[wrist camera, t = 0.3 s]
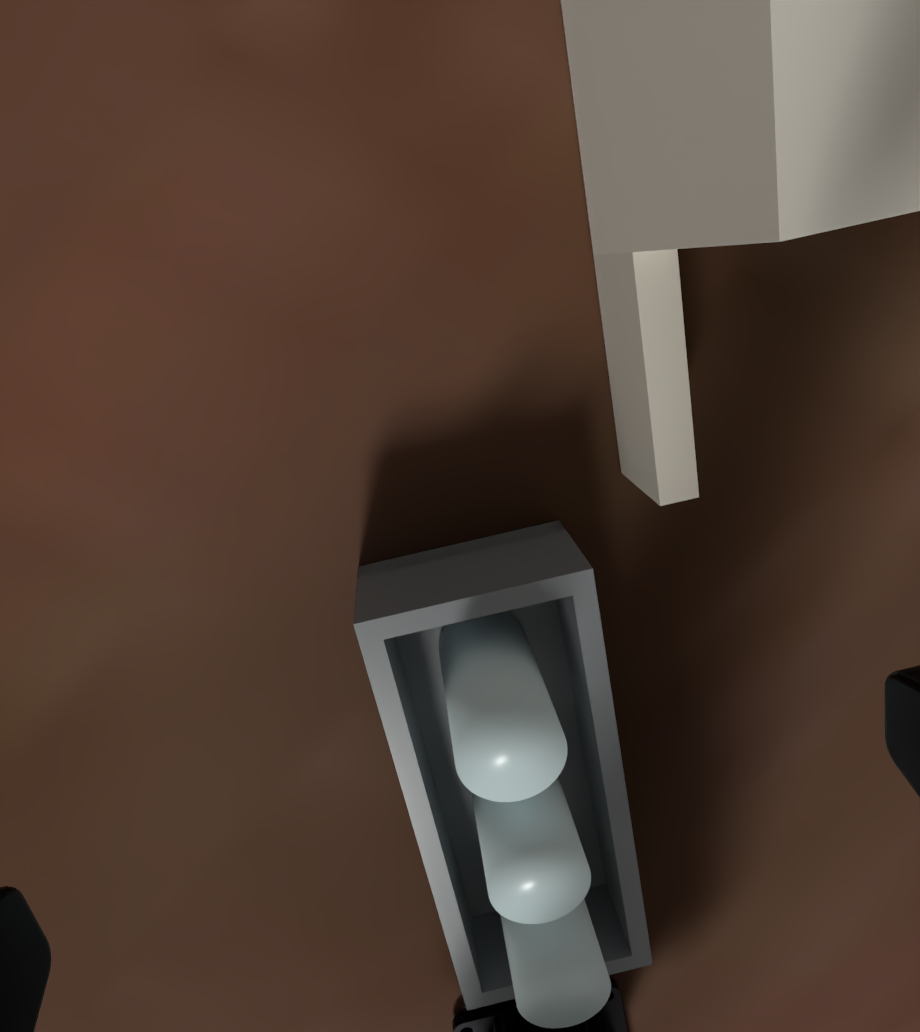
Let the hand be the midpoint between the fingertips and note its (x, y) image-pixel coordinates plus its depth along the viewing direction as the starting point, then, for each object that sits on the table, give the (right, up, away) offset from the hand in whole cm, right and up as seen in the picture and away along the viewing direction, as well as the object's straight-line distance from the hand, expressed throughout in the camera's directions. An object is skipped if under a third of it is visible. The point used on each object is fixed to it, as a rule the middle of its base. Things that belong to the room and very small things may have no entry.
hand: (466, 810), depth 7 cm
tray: (+1, -4, +16) cm, 16 cm away
